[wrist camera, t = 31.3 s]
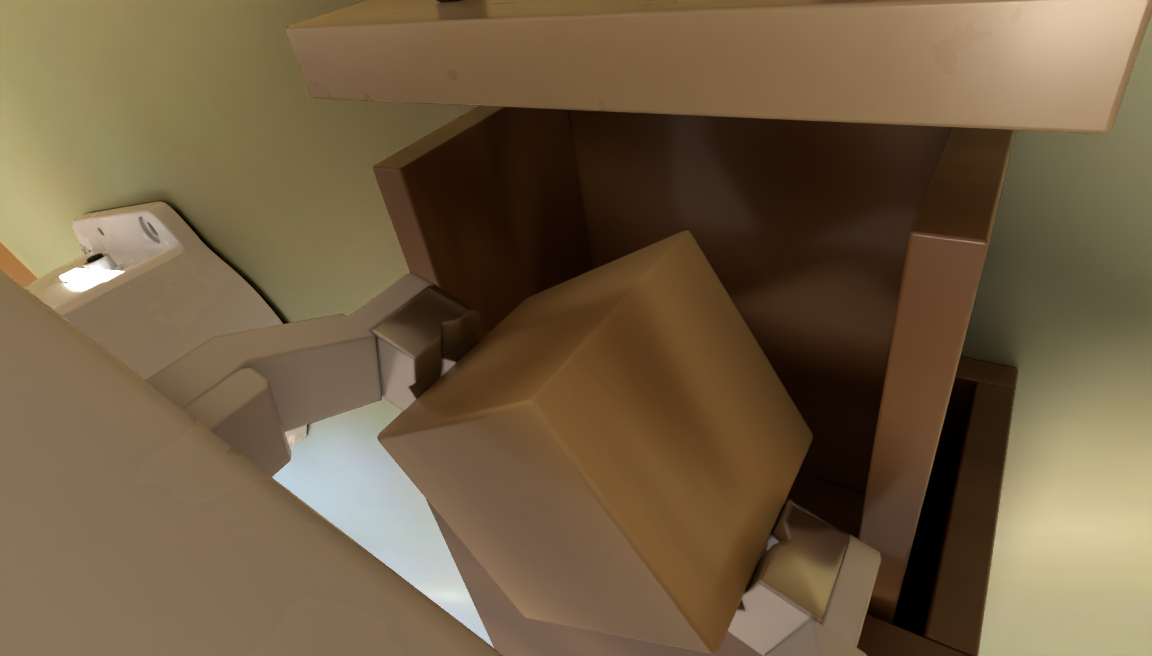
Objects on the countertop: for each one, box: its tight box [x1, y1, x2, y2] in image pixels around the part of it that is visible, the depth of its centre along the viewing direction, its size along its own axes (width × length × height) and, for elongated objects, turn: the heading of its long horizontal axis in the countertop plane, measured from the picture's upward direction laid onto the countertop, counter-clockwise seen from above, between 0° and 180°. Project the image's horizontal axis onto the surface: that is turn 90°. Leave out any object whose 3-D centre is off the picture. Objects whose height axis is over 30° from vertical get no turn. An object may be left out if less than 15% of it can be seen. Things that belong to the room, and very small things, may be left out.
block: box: [377, 230, 813, 654], centre depth 11 cm, size 4×4×4 cm
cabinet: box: [426, 357, 1018, 656], centre depth 21 cm, size 16×13×9 cm
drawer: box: [285, 0, 1152, 624], centre depth 13 cm, size 20×11×7 cm, turn 11°
